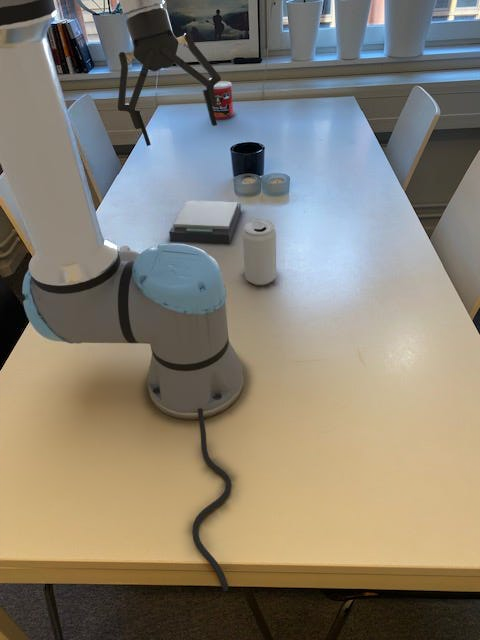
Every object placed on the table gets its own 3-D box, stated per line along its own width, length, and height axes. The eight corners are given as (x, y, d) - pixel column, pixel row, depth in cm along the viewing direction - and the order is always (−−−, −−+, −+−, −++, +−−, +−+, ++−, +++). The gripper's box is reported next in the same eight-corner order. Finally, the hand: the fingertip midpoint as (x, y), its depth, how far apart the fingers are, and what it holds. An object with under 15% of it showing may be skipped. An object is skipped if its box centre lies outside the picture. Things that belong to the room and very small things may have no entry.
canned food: (209, 118, 179) (206, 86, 172) (216, 111, 185) (214, 80, 178) (229, 119, 177) (227, 87, 170) (235, 112, 183) (234, 81, 176)
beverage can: (250, 289, 98) (247, 237, 90) (241, 272, 102) (238, 221, 95) (280, 283, 99) (280, 230, 91) (270, 266, 103) (269, 215, 96)
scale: (229, 244, 111) (228, 231, 109) (170, 241, 114) (168, 228, 112) (241, 212, 123) (240, 200, 121) (187, 210, 125) (185, 198, 123)
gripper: (209, -5, 91) (238, 114, 101) (79, 33, 90) (121, 150, 100) (215, -11, 84) (245, 118, 94) (74, 30, 83) (120, 156, 93)
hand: (181, 134), depth 97 cm, fingers open, 13 cm apart
